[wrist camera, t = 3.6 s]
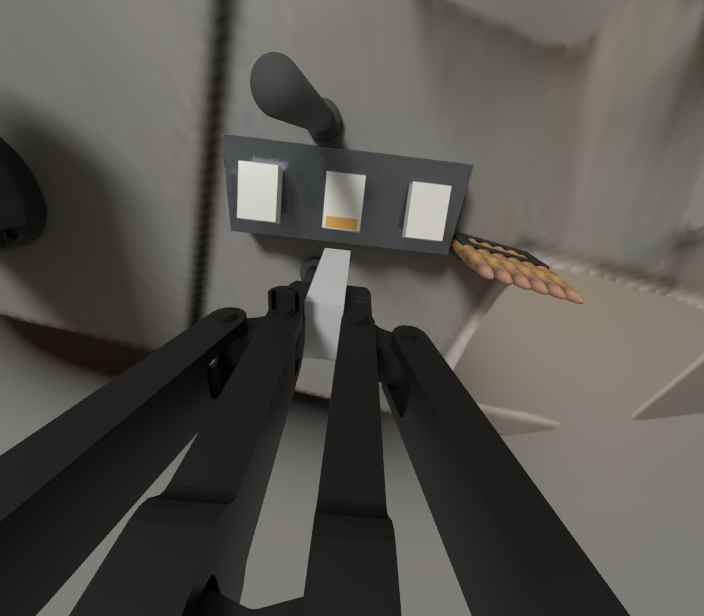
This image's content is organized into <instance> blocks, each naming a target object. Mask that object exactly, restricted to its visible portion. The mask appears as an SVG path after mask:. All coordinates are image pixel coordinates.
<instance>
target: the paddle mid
mask: <svg viewBox="0 0 704 616" xmlns="http://www.w3.org/2000/svg"><path fill="white" fill-rule="evenodd" d="M365 179H366V176H365V175H356V174H348V173H340V172H331V171H327V174H326V186H325V198H324V210H323V221H322V228H323V229H330V230H339V231H348V232H357V233H359V232H360V224H361V215H362V206H363V197H364V188H365Z"/></svg>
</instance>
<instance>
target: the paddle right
mask: <svg viewBox="0 0 704 616" xmlns="http://www.w3.org/2000/svg"><path fill="white" fill-rule="evenodd" d="M451 187H452V186H448V185H440V184H431V183H423V182H415V181H413V182H412V183H411V184H410V185H409V191H408V198H407V205H406V212H405V219H404V226H403V233H402V238H410V239H418V240H427V241H436V242H437V241H442V240H443V234H444V228H445V222H446V216H447V210H448V204H449V199H450V193H451Z"/></svg>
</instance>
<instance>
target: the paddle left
mask: <svg viewBox="0 0 704 616" xmlns="http://www.w3.org/2000/svg"><path fill="white" fill-rule="evenodd" d="M282 178H283V170H282V169H281V168H280V166H279V165H273V164H265V163H256V162H248V161H240V160H238V199H237V218H240V219H243V220H251V221H260V222H268V223H277V224H280V215H281V197H282Z"/></svg>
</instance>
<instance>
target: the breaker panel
mask: <svg viewBox="0 0 704 616" xmlns="http://www.w3.org/2000/svg"><path fill="white" fill-rule="evenodd" d="M221 137H222V147H223V157H224V166H225V176H226V185H227V195H228V204H229V214H230V223H231V231H238V232H247V233H256V234H265V235H274V236H283V237H292V238H301V239H310V240H319V241H328V242H337V243H346V244H355V245H364V246H373V247H382V248H390V249H399V250H408V251H417V252H426V253H435V254H444V255H448V252H449V249H450V245H451V242H452V238H453V235H454V231H455V228H456V224H457V221H458V217H459V214H460V210H461V207H462V203H463V200H464V196H465V193H466V189H467V186H468V182H469V179H470V175H471V172H472V169H473V165H468V164H462V163H454V162H446V161H438V160H430V159H422V158H414V157H406V156H397V155H389V154H381V153H373V152H365V151H357V150H349V149H340V148H332V147H324V146H316V145H308V144H300V143H292V142H283V141H275V140H267V139H259V138H251V137H243V136H233V135H222V134H221ZM238 160H240V161H248V162H256V163H265V164H273V165H279V166H280V168H281V169H282V170H283V178H282V197H281V215H280V224H277V223H268V222H260V221H251V220H243V219H240V218H237V199H238ZM327 171H331V172H340V173H348V174H356V175H365V176H366V179H365V188H364V197H363V206H362V215H361V224H360V232H359V233H357V232H348V231H339V230H330V229H323V228H322V221H323V210H324V198H325V186H326V174H327ZM413 181H415V182H423V183H431V184H440V185H448V186H452V187H451V193H450V199H449V204H448V210H447V216H446V222H445V228H444V234H443V240H442V241H437V242H436V241H427V240H418V239H410V238H402V233H403V226H404V219H405V212H406V205H407V198H408V191H409V185H410V184H411V183H412V182H413Z"/></svg>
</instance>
